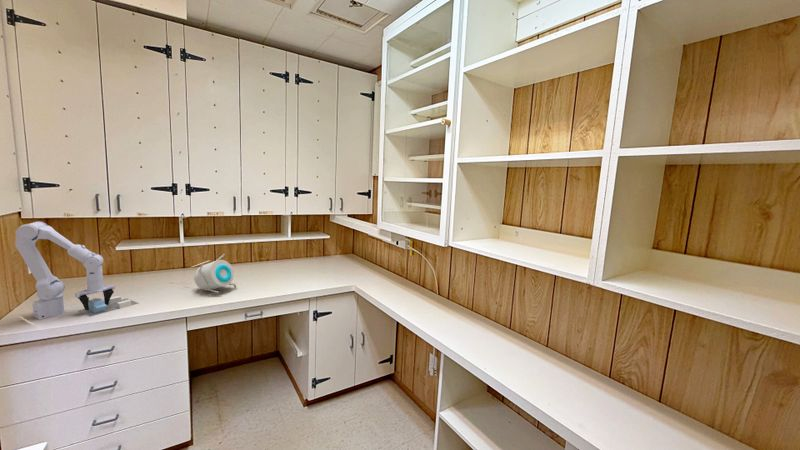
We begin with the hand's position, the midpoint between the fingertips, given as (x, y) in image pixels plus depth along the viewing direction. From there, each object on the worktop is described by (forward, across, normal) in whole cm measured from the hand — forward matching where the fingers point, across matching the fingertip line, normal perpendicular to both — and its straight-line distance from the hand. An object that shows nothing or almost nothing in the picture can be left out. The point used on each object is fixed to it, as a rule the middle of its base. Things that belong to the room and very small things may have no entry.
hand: (96, 307), depth 159 cm
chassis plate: (+2, +5, 0) cm, 6 cm away
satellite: (+3, +49, -16) cm, 52 cm away
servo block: (+2, 0, 0) cm, 2 cm away
